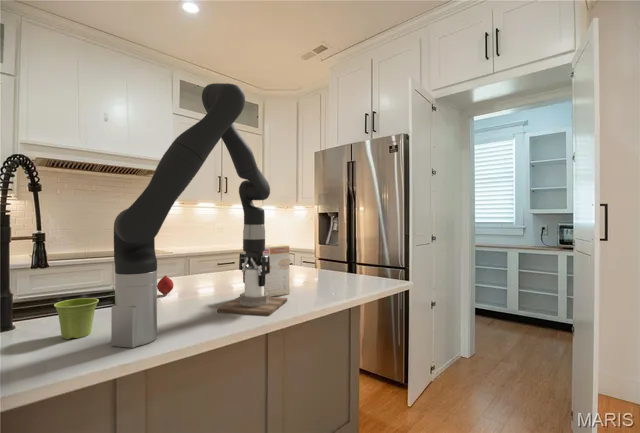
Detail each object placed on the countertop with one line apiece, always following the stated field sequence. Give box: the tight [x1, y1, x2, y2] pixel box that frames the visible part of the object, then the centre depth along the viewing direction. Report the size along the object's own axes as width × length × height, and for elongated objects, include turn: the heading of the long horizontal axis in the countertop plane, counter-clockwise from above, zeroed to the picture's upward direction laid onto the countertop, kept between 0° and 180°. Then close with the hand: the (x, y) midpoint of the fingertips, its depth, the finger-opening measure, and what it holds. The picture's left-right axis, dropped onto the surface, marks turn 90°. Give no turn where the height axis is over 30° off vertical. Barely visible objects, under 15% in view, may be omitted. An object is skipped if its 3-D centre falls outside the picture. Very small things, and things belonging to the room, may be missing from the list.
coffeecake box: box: [260, 244, 290, 297], centre depth 132 cm, size 15×7×20 cm, turn 126°
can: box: [244, 267, 264, 297], centre depth 115 cm, size 6×6×12 cm
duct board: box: [216, 291, 288, 316], centre depth 115 cm, size 18×18×4 cm
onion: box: [157, 274, 174, 296], centre depth 131 cm, size 6×6×8 cm
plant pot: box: [53, 297, 100, 340], centre depth 87 cm, size 9×9×9 cm
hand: (253, 284), depth 115 cm, fingers open, 8 cm apart
